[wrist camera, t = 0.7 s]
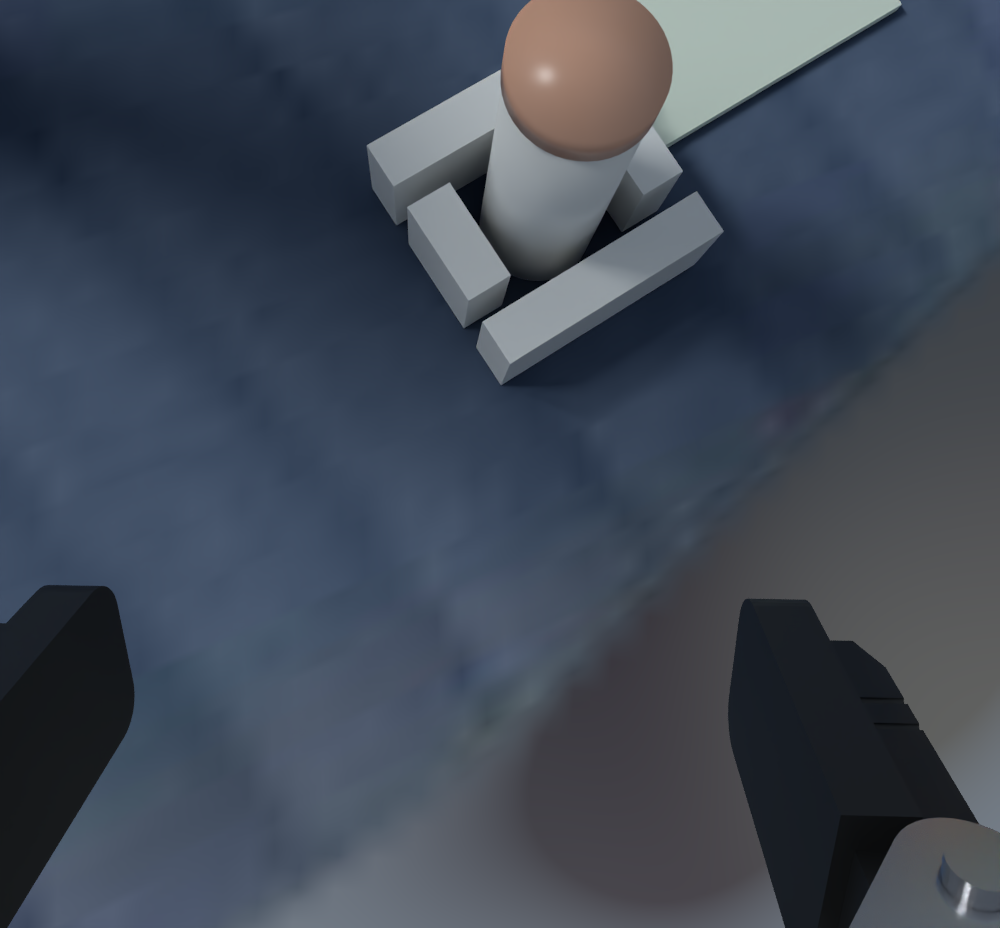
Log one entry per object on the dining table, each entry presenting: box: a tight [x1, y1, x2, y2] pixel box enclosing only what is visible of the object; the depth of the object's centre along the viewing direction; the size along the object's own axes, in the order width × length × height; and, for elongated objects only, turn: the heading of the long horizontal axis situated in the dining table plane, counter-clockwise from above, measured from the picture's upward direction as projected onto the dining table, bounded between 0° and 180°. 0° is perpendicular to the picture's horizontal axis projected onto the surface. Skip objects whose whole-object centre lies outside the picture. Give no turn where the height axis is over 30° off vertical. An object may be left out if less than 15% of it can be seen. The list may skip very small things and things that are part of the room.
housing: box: [367, 70, 724, 385], centre depth 38 cm, size 10×10×4 cm
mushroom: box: [479, 0, 673, 281], centre depth 33 cm, size 5×5×13 cm
